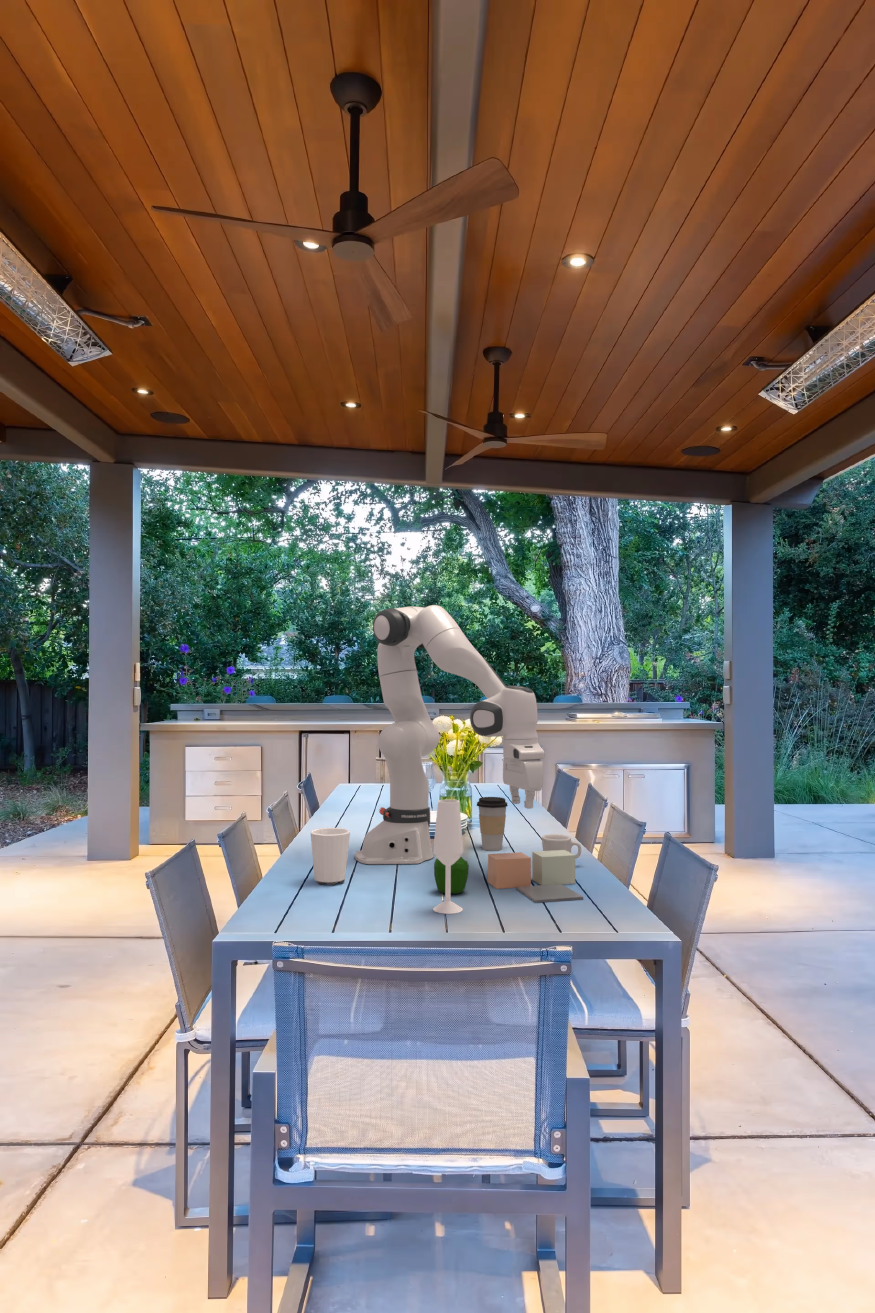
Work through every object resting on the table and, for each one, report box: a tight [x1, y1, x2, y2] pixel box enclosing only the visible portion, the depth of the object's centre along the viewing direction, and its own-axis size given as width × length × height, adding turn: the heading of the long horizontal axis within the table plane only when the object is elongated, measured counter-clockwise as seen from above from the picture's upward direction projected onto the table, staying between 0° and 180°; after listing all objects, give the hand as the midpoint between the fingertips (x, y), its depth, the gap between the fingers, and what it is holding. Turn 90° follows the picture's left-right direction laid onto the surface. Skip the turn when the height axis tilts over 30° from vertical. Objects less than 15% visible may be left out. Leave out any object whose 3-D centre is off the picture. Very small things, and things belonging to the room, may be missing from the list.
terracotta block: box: [487, 851, 532, 890], centre depth 203 cm, size 9×6×7 cm
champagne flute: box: [432, 799, 464, 915], centre depth 181 cm, size 7×7×24 cm
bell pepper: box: [433, 856, 470, 894], centre depth 196 cm, size 8×8×10 cm
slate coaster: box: [516, 884, 584, 904], centre depth 194 cm, size 12×12×1 cm
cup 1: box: [310, 827, 351, 887], centre depth 204 cm, size 10×10×13 cm
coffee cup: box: [476, 796, 509, 852], centre depth 245 cm, size 9×9×15 cm
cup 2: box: [541, 833, 582, 860], centre depth 223 cm, size 11×8×8 cm
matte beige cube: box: [531, 850, 576, 886], centre depth 206 cm, size 9×6×7 cm
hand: (522, 806), depth 203 cm, fingers open, 8 cm apart
